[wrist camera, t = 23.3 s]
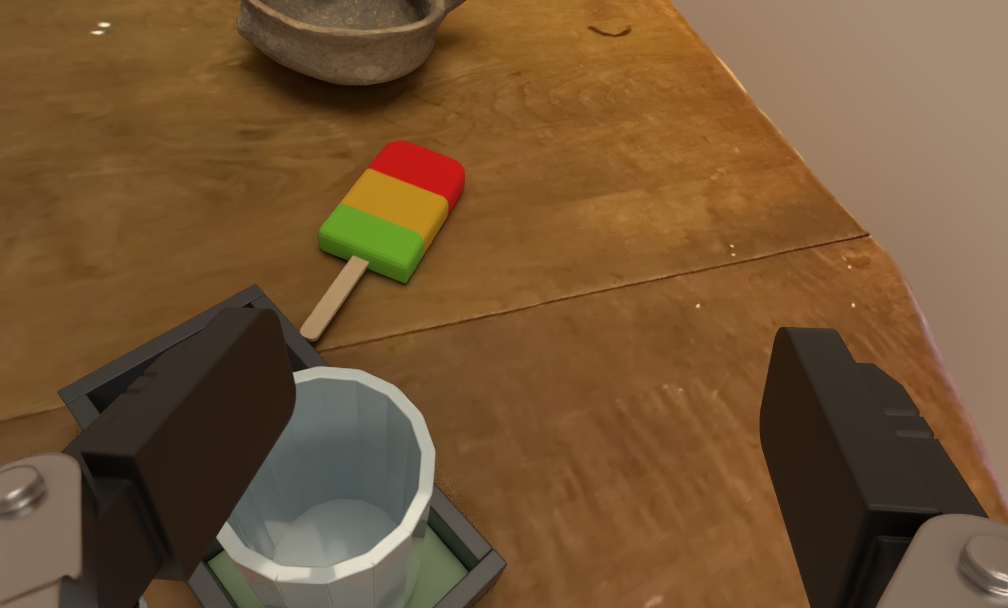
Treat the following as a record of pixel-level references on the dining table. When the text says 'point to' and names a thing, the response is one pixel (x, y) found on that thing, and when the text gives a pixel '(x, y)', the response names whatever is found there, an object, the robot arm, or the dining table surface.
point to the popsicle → (386, 221)
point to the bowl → (345, 36)
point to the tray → (216, 581)
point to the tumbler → (337, 498)
